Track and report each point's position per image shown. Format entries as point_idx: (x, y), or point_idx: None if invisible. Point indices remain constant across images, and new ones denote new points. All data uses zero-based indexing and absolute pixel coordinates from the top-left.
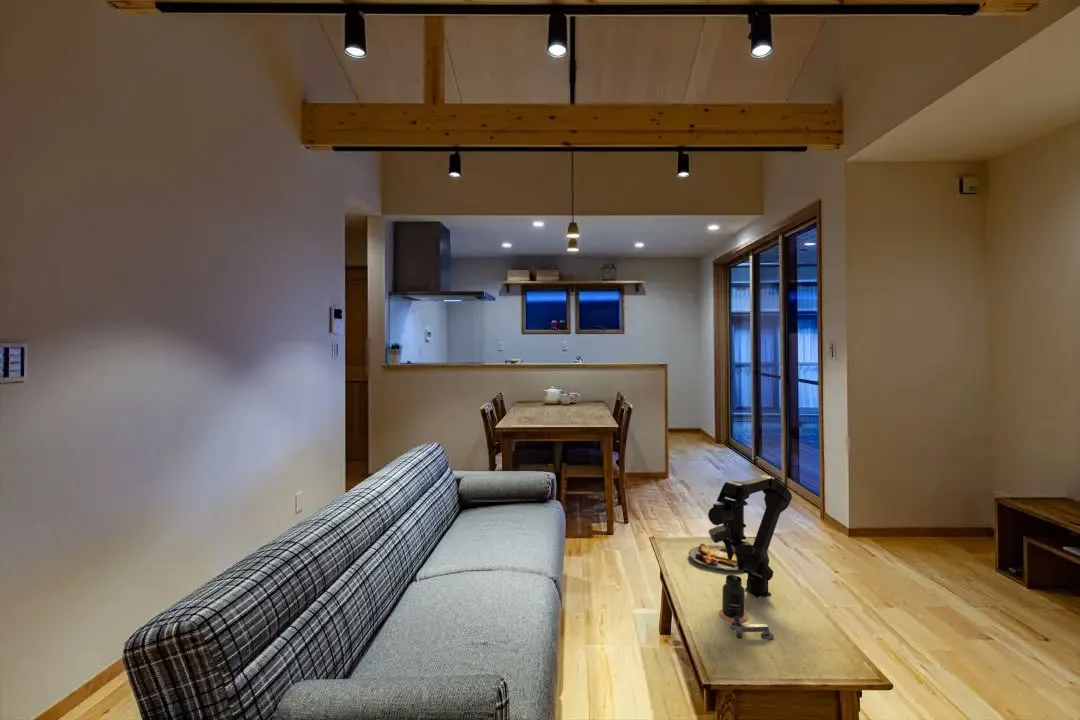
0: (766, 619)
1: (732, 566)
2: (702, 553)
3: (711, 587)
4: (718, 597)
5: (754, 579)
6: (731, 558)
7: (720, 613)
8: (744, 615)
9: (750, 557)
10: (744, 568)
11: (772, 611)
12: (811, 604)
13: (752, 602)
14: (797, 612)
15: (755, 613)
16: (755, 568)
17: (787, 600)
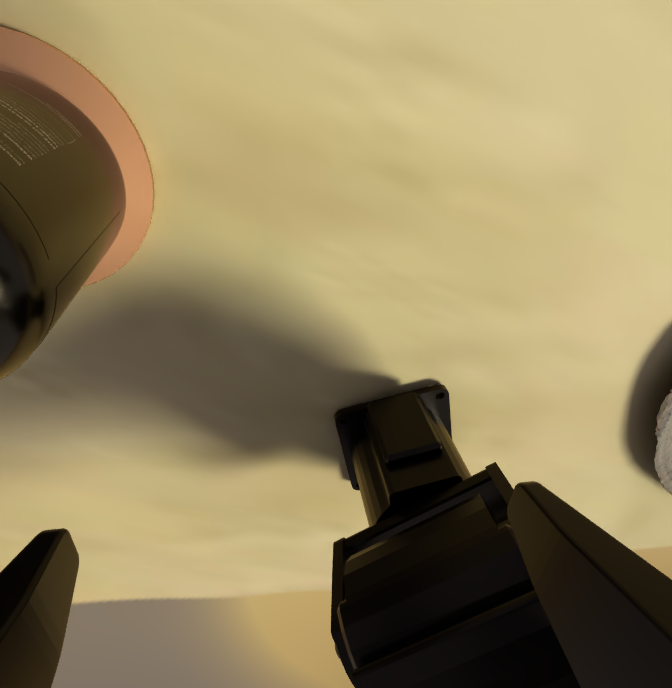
0: (26, 387)
1: None
2: None
3: (541, 174)
4: (368, 168)
5: (386, 492)
6: (513, 523)
7: (11, 48)
8: None
9: (466, 670)
10: (468, 504)
11: (153, 443)
12: (247, 589)
13: (272, 376)
14: (157, 536)
15: (107, 349)
16: (359, 599)
17: (291, 527)
